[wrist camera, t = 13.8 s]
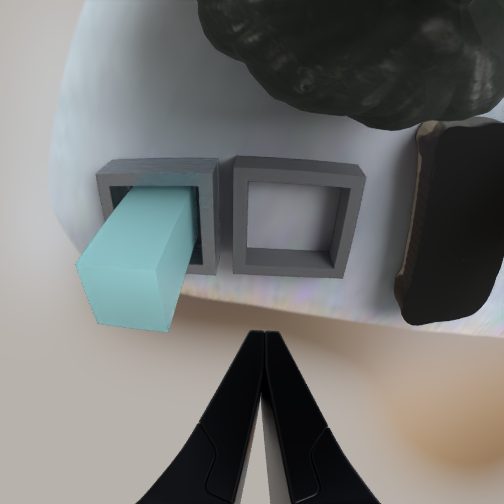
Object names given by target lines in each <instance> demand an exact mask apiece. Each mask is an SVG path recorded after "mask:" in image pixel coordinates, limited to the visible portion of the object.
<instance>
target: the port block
mask: <svg viewBox="0 0 504 504" xmlns="http://www.w3.org/2000/svg"><path fill="white" fill-rule="evenodd" d="M96 179H97V184H98V189H99V195H100V200H101V205H102V209H103V214H104V219H105V222H106V220H107V219H108V218H109V216H110V215H111V214H112V213H113V211H114V210H115V209H116V207H117V206H118V205H119V204H120V202H121V201H122V200H123V198H124V197H125V196H126V195H127V187H126V186H199V204H200V222H201V238H202V243H195V245H194V248H193V251H192V254H191V257H190V261H189V264H188V267H187V270H186V274H202V275H216V272H217V267H218V262H219V257H220V227H219V167H218V158H146V159H118V160H111V161H110V162H109V163H108V164H107V165H106V166H105V167H103V168H102V169H101V170H100V171H99V172H98V173H97V174H96Z"/></svg>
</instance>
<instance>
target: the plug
mask: <svg viewBox="0 0 504 504" xmlns="http://www.w3.org/2000/svg"><path fill="white" fill-rule="evenodd" d="M197 235H198V227H197V210H196V191H195V186H133V187H132V188H131V190H130V191H129V192H128V193H127V195H126V196H125V197H124V198H123V200H122V201H121V202H120V204H119V205H118V206H117V207H116V209H115V210H114V211H113V213H112V214H111V215H110V216H109V218H108V219H107V220H106V222H105V223H104V224H103V226H102V227H101V228H100V230H99V231H98V233H97V234H96V235H95V237H94V238H93V239H92V241H91V242H90V244H89V245H88V246H87V248H86V249H85V251H84V252H83V254H82V255H81V257H80V258H79V259H78V261H77V262H76V264H75V265H76V267H77V271H78V273H79V276H80V279H81V282H82V284H83V287H84V290H85V293H86V295H87V298H88V301H89V303H90V306H91V308H92V311H93V313H94V316H95V318H96V320H97V323H98V324H103V325H111V326H118V327H125V328H133V329H141V330H149V331H158V332H169V329H170V324H171V321H172V318H173V314H174V311H175V307H176V304H177V301H178V296H179V294H180V290H181V287H182V284H183V280H184V277H185V274H186V270H187V267H188V264H189V261H190V257H191V254H192V251H193V248H194V245H195V242H196V238H197Z"/></svg>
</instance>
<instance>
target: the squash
mask: <svg viewBox="0 0 504 504" xmlns="http://www.w3.org/2000/svg"><path fill="white" fill-rule="evenodd" d="M197 1H198V14H199V19H200V22H201V25H202V28H203V31H204V34H205V35H206V37H207V38H208V39H209V41H210V42H211V44H212V45H213V46H214V47H215V49H217V50H218V51H220V52H222V53H224V54H225V55H227V56H229V57H231V58H233V59H236V60H239V61H242V62H244V63H245V64H246V65H247V67H248V69H249V71H250V73H251V74H252V75H253V77H254V78H255V79H256V80H257V81H258V82H259V84H260V85H261V86H262V87H263V88H264V89H265V90H266V91H267V92H268V93H269V94H270V95H271V96H272V97H274V98H275V99H277V100H280V101H283V102H286V103H287V104H289V105H291V106H292V107H295V108H297V109H299V110H302V111H307V112H313V113H320V114H327V115H338V116H345V115H346V116H348V117H350V118H352V119H354V120H356V121H358V122H360V123H362V124H364V125H365V126H367V127H370V128H375V129H382V130H389V131H396V130H402V129H406V128H410V127H412V126H414V125H416V124H419V123H422V122H427V121H432V120H433V121H446V122H450V121H463V120H466V119H469V118H471V117H473V116H476V115H481V114H485V113H487V112H489V111H491V110H492V109H493V108H494V107H495V106H496V105H497V104H498V103H499V102H500V101H501V100H502V99H503V97H504V0H197Z"/></svg>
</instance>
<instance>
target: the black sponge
mask: <svg viewBox="0 0 504 504" xmlns="http://www.w3.org/2000/svg"><path fill="white" fill-rule="evenodd" d="M416 140H417V146H418V164H417V169H418V170H417V178H416V187H415V195H414V202H413V210H412V217H411V222H410V228H409V233H408V236H407V237H408V239H407V243H406V249H405V254H404V261H403V266H402V268H401V270H400V272H399V273H398V275H397V276H396V279H395V284H394V294H395V298H396V300H397V302H398V304H399V307H400V309H401V314H402V316H403V318H404V320H405V321H406V322H407V323H408V324H410V325H416V326H419V325H424V324H429V323H434V322H443V321H451V320H456V319H460V318H464V317H468V316H470V315H472V314H474V313H476V312H477V311H478V310H479V309H480V308H481V307H482V306H483V305H484V303H485V302H486V301H487V299H488V297H489V296H490V293H491V291H492V288H493V286H494V283H495V280H496V277H497V275H498V273H499V270H500V268H501V265H502V261H503V258H504V123H502V122H500V121H497V120H494V119H491V118H486V117H471V118H469V119H466V120H463V121H450V122H446V121H433V120H432V121H427V122H423V124H422V125H421V126H420V128H419V129H418V132H417V135H416Z"/></svg>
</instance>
